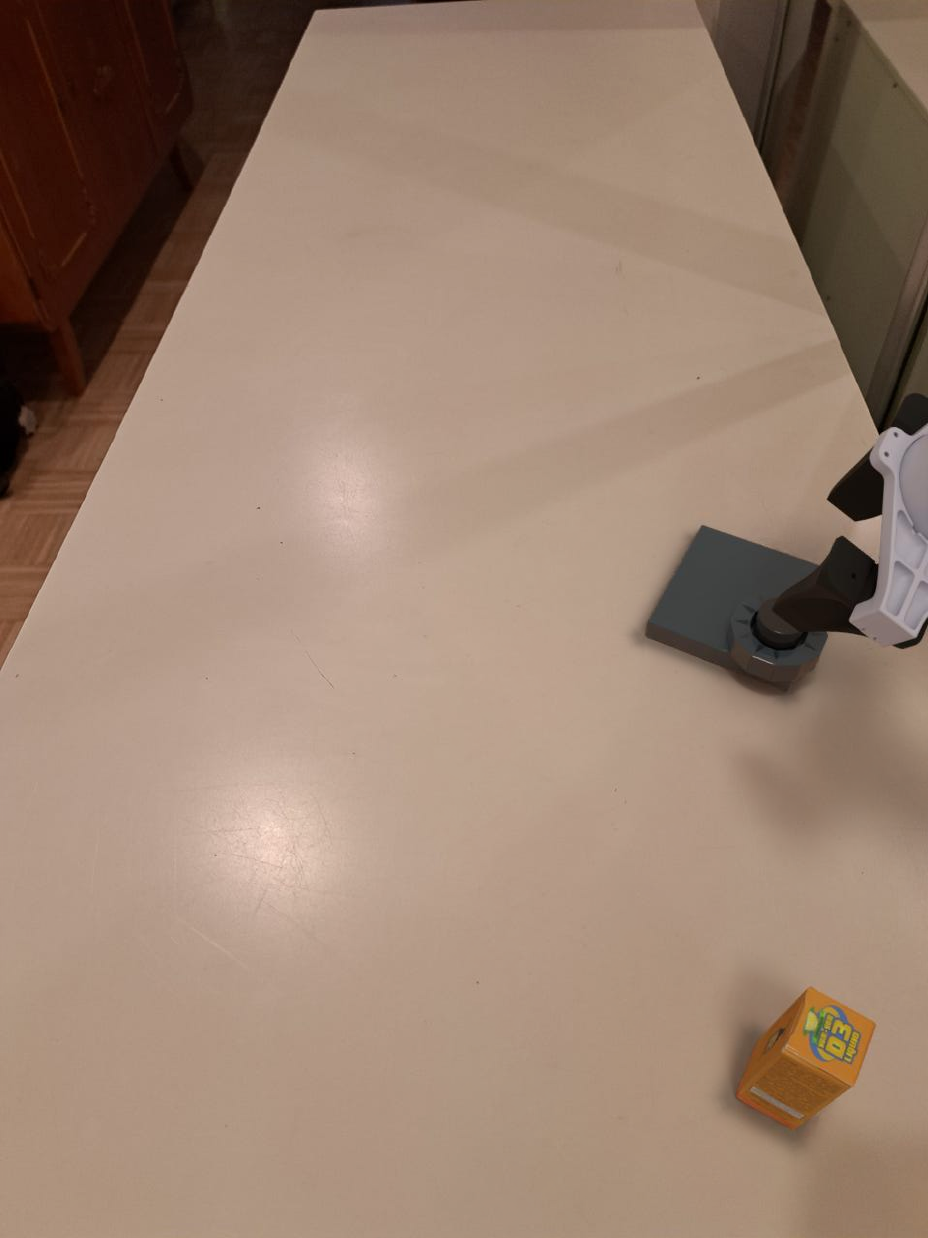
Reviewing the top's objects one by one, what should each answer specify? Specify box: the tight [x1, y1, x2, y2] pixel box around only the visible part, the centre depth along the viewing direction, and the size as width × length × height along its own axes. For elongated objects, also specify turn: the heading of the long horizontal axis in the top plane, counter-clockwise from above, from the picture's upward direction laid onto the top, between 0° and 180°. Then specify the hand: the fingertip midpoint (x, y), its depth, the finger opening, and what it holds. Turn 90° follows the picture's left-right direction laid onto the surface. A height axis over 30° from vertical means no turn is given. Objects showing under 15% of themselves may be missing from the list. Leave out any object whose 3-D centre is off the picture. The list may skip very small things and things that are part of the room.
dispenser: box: [645, 524, 829, 693], centre depth 65 cm, size 11×11×4 cm
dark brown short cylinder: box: [754, 597, 803, 650], centre depth 61 cm, size 3×3×2 cm
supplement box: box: [735, 986, 877, 1131], centre depth 44 cm, size 3×3×10 cm
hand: (816, 559), depth 50 cm, fingers open, 7 cm apart
